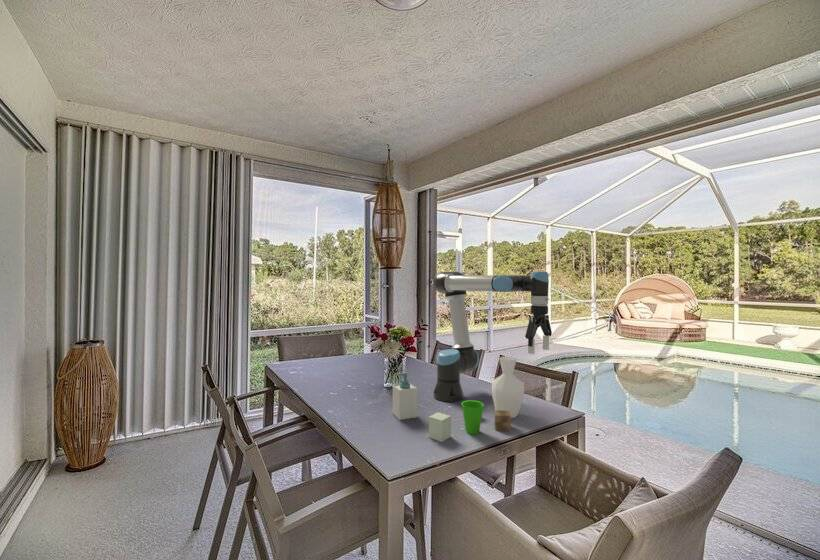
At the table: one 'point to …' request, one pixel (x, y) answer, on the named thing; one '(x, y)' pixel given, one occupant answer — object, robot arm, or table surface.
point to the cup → (472, 415)
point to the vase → (508, 388)
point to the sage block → (439, 426)
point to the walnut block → (502, 420)
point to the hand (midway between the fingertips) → (538, 351)
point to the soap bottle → (405, 399)
